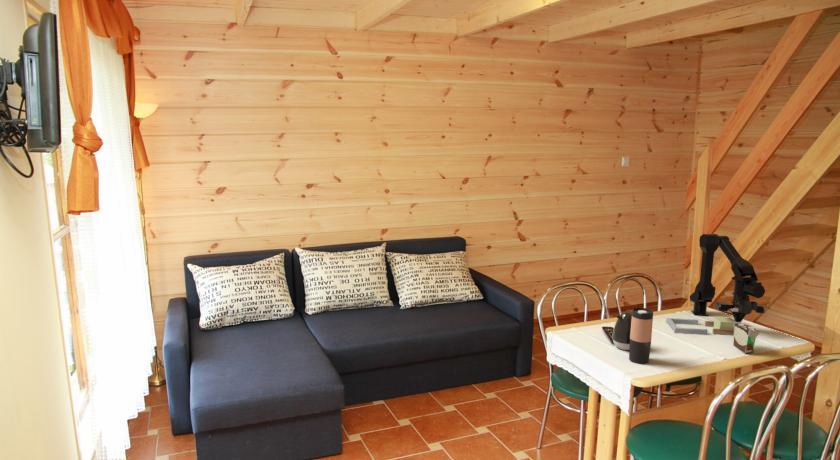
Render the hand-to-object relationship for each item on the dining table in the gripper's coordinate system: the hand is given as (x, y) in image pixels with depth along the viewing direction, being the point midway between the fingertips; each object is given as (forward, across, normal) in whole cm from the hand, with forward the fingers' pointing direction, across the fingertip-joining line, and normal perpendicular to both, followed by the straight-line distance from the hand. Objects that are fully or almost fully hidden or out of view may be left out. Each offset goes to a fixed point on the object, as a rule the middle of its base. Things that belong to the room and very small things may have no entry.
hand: (737, 325), depth 261 cm
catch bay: (+2, -21, 0) cm, 21 cm away
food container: (+3, -5, -24) cm, 25 cm away
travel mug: (+2, -51, -44) cm, 67 cm away
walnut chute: (+2, -4, 0) cm, 4 cm away
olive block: (+2, -5, 0) cm, 6 cm away
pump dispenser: (+3, -54, -31) cm, 62 cm away
